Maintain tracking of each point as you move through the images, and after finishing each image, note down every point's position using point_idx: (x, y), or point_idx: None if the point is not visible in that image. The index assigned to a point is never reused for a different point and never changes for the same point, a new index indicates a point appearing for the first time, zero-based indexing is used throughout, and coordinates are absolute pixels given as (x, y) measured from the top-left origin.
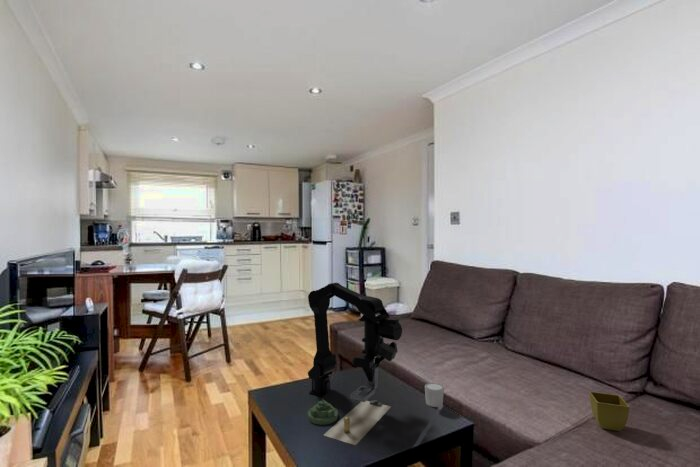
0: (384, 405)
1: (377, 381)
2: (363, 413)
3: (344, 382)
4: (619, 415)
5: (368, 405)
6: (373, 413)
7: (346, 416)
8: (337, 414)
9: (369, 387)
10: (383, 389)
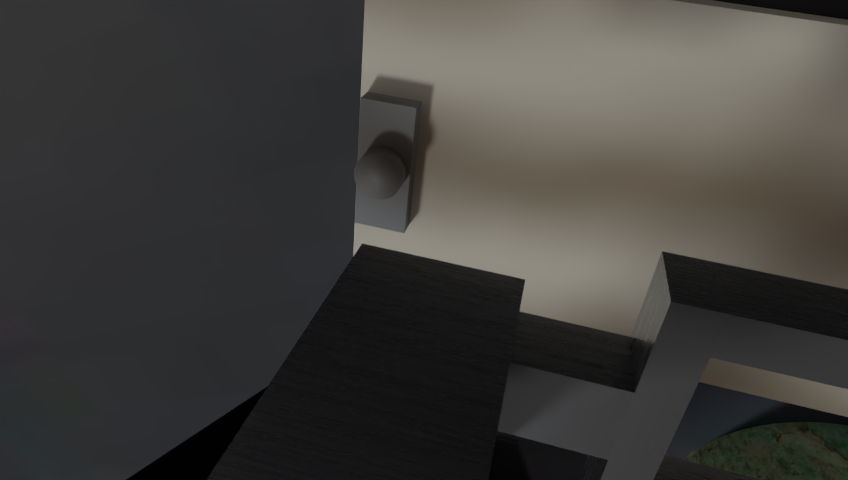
0: (374, 53)
1: (359, 318)
2: (657, 240)
3: (119, 460)
4: None
5: (448, 228)
6: (628, 133)
7: (769, 381)
8: (838, 478)
9: (646, 406)
10: (13, 161)
